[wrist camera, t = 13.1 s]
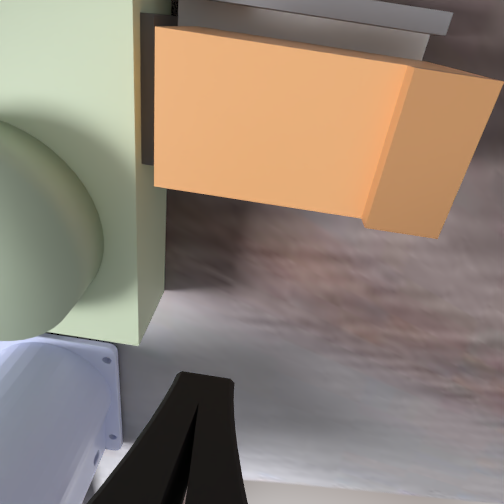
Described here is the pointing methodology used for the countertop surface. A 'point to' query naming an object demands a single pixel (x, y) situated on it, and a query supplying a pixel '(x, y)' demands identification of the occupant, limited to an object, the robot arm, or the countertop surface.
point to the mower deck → (121, 144)
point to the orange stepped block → (315, 126)
